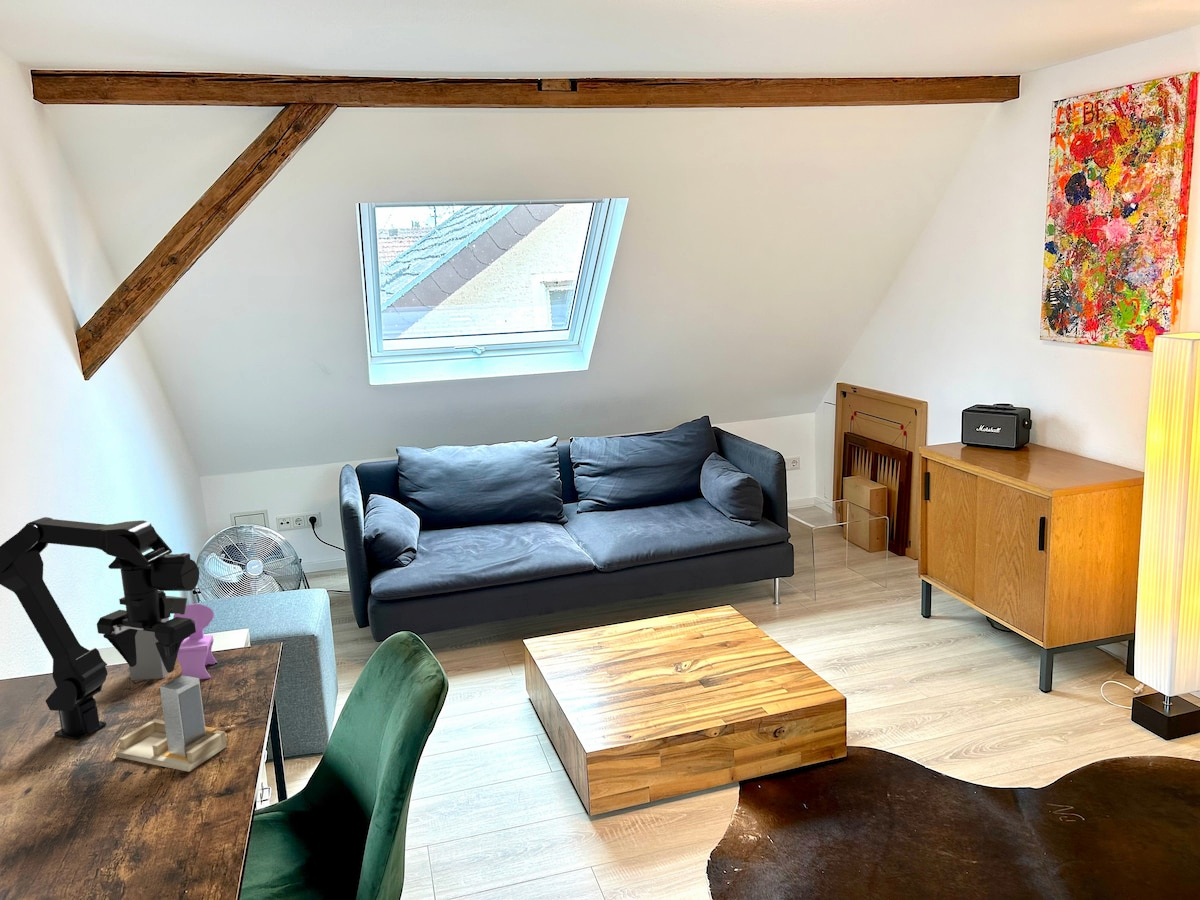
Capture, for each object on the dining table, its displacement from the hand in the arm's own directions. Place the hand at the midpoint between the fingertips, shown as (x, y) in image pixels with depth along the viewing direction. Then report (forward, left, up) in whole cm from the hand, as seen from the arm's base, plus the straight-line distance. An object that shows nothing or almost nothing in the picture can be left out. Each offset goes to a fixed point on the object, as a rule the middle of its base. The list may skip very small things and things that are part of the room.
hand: (151, 668), depth 171 cm
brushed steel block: (+12, -5, -12) cm, 18 cm away
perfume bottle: (-24, +21, -13) cm, 34 cm away
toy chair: (-14, +24, -13) cm, 31 cm away
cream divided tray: (+8, -5, -13) cm, 16 cm away
